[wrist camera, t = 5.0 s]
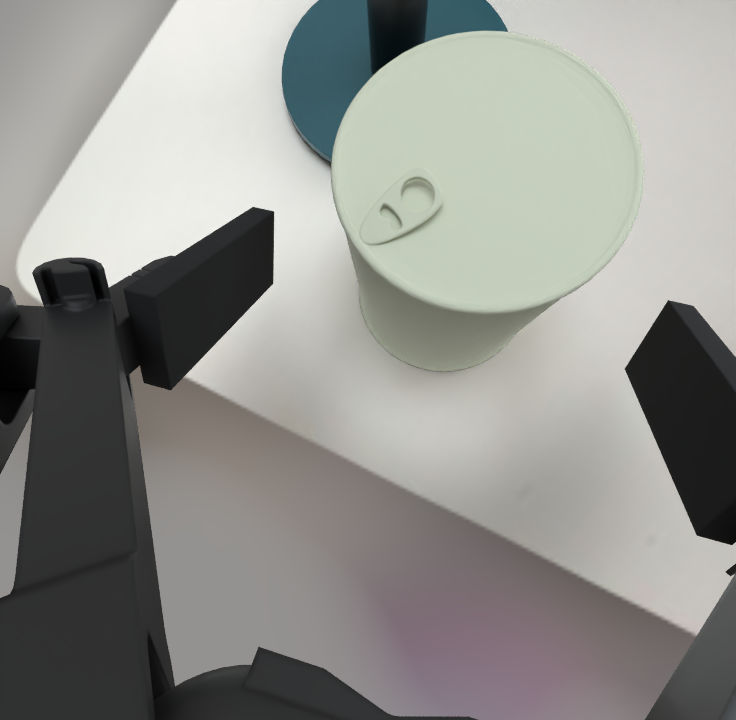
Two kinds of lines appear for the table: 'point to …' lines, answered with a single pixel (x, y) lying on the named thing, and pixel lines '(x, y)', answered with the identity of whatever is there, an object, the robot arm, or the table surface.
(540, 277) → the can
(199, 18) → the table surface
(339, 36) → the lid
